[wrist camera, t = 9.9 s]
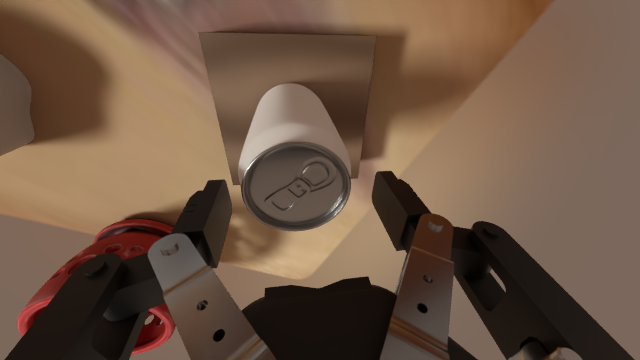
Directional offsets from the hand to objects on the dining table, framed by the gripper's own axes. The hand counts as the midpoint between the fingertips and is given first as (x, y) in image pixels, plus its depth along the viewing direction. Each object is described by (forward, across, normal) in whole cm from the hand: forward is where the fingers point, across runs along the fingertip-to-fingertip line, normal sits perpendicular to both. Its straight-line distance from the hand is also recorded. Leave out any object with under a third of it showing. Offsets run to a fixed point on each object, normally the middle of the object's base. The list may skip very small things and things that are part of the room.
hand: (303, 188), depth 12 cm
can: (+12, 0, 0) cm, 12 cm away
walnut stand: (+15, 0, 0) cm, 15 cm away
